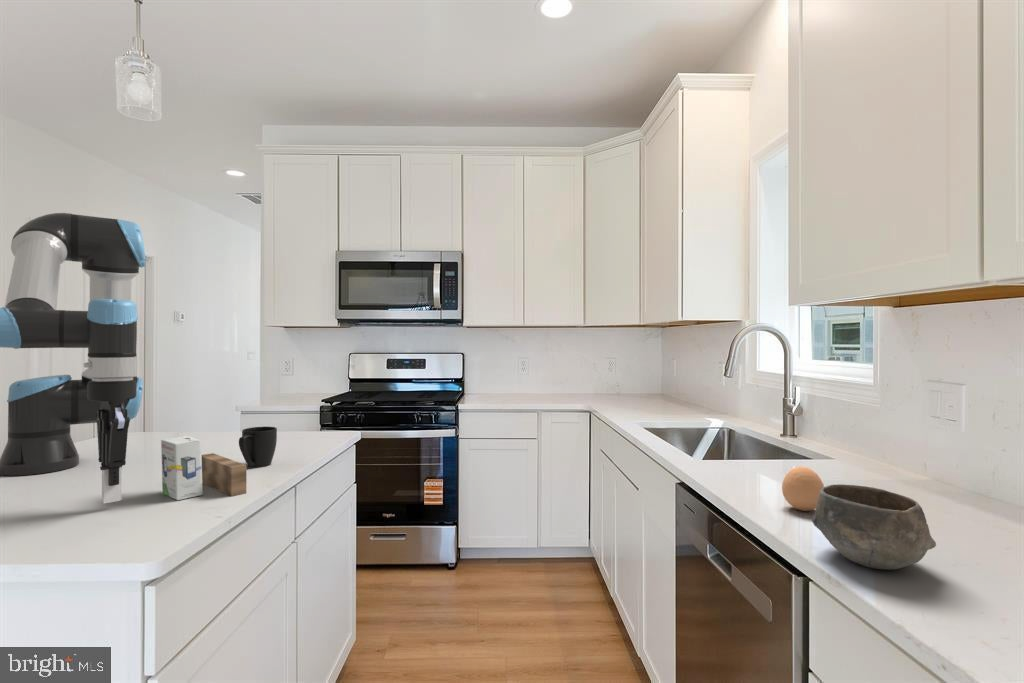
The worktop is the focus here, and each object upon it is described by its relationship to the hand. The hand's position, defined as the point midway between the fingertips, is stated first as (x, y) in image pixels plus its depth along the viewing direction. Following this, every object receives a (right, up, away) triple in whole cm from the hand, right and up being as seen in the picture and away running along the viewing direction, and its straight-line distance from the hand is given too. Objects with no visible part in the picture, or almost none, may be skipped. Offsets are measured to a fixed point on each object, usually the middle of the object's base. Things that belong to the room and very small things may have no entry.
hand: (111, 501), depth 98 cm
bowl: (+131, -2, -22) cm, 133 cm away
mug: (+11, -2, +33) cm, 35 cm away
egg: (+135, -3, +2) cm, 135 cm away
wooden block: (+13, -2, +15) cm, 20 cm away
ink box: (+7, -2, +9) cm, 12 cm away
